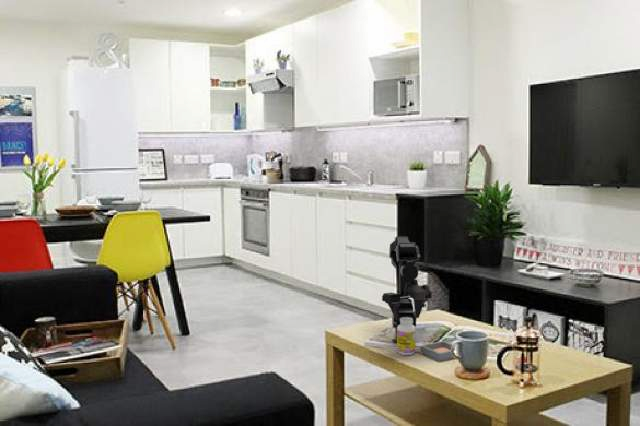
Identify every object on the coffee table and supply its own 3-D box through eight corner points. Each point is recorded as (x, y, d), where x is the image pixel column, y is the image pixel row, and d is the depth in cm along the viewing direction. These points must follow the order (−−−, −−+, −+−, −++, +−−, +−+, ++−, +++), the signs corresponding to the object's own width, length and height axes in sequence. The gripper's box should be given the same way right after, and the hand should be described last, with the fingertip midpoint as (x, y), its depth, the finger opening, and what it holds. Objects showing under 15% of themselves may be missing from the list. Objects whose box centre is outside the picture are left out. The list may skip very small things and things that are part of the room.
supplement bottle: (394, 354, 248) (394, 320, 247) (400, 348, 254) (400, 315, 253) (411, 356, 245) (411, 322, 244) (417, 351, 251) (418, 317, 249)
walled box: (420, 353, 248) (420, 345, 248) (443, 348, 254) (443, 340, 253) (439, 362, 239) (439, 354, 239) (463, 356, 244) (463, 348, 244)
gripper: (399, 281, 235) (399, 326, 236) (441, 277, 244) (441, 320, 245) (381, 277, 245) (381, 320, 246) (422, 273, 254) (422, 315, 255)
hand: (407, 319), depth 247 cm, fingers open, 9 cm apart
